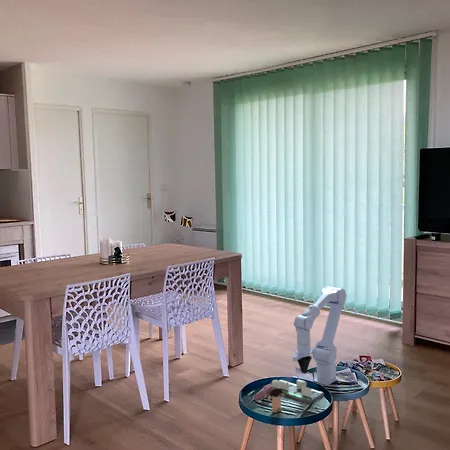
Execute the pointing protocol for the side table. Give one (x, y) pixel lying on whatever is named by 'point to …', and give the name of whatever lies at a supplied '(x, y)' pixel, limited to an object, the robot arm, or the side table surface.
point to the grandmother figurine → (276, 396)
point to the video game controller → (263, 392)
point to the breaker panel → (297, 394)
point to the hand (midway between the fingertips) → (304, 372)
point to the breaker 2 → (306, 391)
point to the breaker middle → (301, 384)
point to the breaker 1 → (283, 384)
